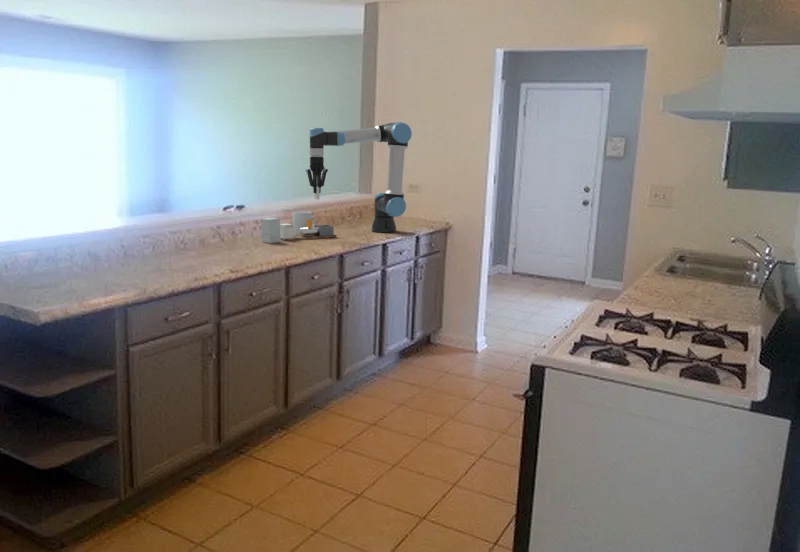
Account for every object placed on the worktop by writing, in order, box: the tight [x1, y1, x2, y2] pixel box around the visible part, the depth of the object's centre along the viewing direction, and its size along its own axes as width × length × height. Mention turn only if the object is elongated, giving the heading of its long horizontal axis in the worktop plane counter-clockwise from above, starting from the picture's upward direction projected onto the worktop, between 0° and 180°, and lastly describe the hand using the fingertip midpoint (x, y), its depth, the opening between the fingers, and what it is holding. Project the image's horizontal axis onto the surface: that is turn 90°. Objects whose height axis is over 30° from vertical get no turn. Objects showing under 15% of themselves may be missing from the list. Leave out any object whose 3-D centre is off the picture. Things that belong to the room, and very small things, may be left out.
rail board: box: [280, 234, 337, 242], centre depth 378 cm, size 32×9×1 cm, turn 125°
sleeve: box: [313, 224, 335, 236], centre depth 383 cm, size 9×7×5 cm
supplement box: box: [260, 217, 282, 244], centre depth 362 cm, size 7×7×13 cm
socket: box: [280, 223, 294, 239], centre depth 370 cm, size 5×8×7 cm
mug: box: [291, 211, 317, 236], centre depth 392 cm, size 15×11×13 cm
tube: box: [298, 219, 319, 236], centre depth 380 cm, size 18×4×9 cm, turn 125°
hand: (317, 199), depth 378 cm, fingers closed
